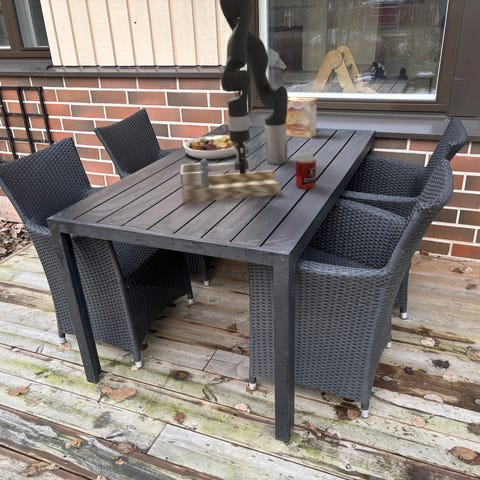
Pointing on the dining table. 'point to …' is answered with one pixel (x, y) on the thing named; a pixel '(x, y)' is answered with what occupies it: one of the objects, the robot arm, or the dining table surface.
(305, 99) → the coffeecake box
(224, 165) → the rod
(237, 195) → the game board
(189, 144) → the bowl
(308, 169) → the canned food
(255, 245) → the dining table surface
